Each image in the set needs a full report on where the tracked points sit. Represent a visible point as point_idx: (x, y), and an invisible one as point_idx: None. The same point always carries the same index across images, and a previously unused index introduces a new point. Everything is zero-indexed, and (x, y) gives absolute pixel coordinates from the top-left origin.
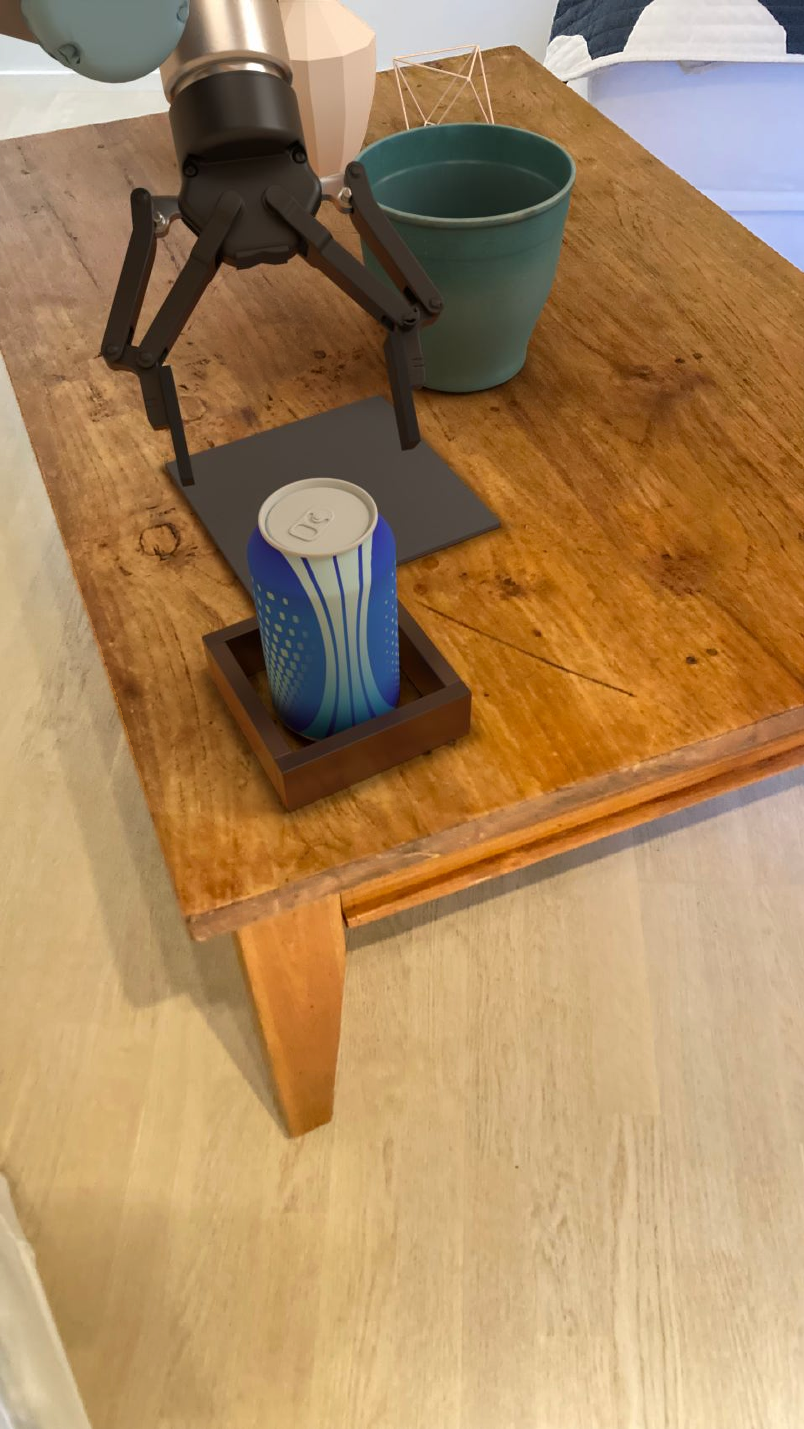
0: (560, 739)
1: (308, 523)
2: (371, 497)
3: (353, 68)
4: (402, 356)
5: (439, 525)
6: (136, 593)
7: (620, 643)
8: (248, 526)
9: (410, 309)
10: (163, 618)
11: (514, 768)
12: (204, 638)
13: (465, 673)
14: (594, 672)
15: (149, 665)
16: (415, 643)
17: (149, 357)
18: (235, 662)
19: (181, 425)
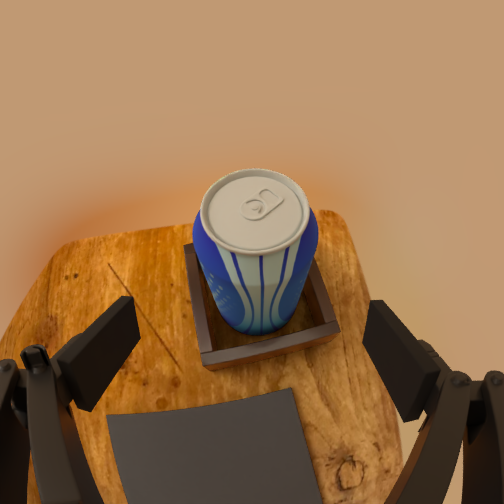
0: (151, 248)
1: (265, 202)
2: (200, 215)
3: None
4: (77, 342)
5: (143, 431)
6: (371, 425)
7: (94, 296)
8: (284, 476)
9: (28, 373)
10: (356, 399)
11: (180, 238)
12: (339, 328)
13: (176, 303)
14: (115, 282)
15: (367, 358)
16: (199, 288)
17: (454, 377)
18: (320, 302)
19: (393, 327)
